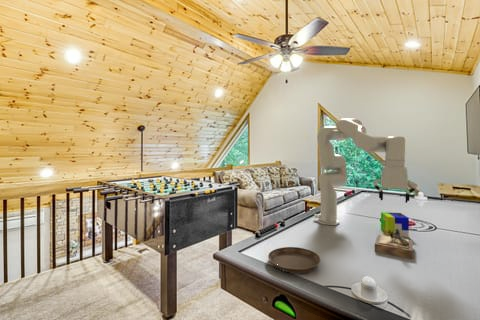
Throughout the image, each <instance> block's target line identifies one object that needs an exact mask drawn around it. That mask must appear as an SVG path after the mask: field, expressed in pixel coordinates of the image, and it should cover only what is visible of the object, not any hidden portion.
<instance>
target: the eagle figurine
mask: <svg viewBox="0 0 480 320" xmlns="http://www.w3.org/2000/svg"><path fill="white" fill-rule="evenodd" d="M395 231H396V233H393V231H392V232H391V231H390V230H389V231H388V232H387V231H386V230H385V232H386V233H388V234H389V235H390V236H389V237H391V239H393V242H395V240H396V239H399V240H400V242H401V244H402V245H403V246H407V247H408V245H409V243H408V242H407V240H405V239H406V238H404V236H400V232H399V230H398V229H395ZM393 235H394V236H393Z"/></svg>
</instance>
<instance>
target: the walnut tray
mask: <svg viewBox="0 0 480 320" xmlns="http://www.w3.org/2000/svg"><path fill="white" fill-rule="evenodd" d="M404 239H405V240H407V242H408V243H409V245H408V247H407V246H403V245H402V244H401V242H400V240H399V239H396V240H395V242H393V239H391V237H390V236H388V235H382V234H377V236H376V239H375V242H374V252H375V253H381V254H385V255H389V256H390V255H391V256H395V257H401V258H404V259H405V258H406V259H410V260H411V259H412V260H413V259H414V258H413V254H414V250H413V249H414V247H413V239H407V238H404Z"/></svg>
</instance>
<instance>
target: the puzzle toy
mask: <svg viewBox="0 0 480 320" xmlns="http://www.w3.org/2000/svg"><path fill="white" fill-rule="evenodd" d="M409 224H410V218H409V217H408V216H406V215H405V214H403V213H401V212H386V211H385V212H384V211H383V212H380V230H381V231H382V232H383V233H384V234H385V236H389V237H390V235H389V234H388V233H386V232H385V230H386V231H387V232H388V231H389V230H390V231H391V232H392V231H393V233H396V231H395V229H398V230H399V232H400V236H401V237H408V238H409V234H410V233H409V230H410V229H409V228H410V227H409V226H410V225H409ZM393 236H394V235H393Z"/></svg>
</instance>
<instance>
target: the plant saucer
mask: <svg viewBox="0 0 480 320" xmlns="http://www.w3.org/2000/svg"><path fill="white" fill-rule="evenodd" d="M267 258H268V260H269V262H270V263H271V265H273V267H275V268H276V267H277V268H279V269H281V270H284V271H287V272H290V273H289V274H295V275H297V274H298V275H299V274H306V273H309V272H311V271H313V270H315V269H316V268H317V267H318V266H319V264H320V263H321V257H320V255H318V254H317V253H316V252H314V251H313V250H309V249H306V248H302V247H295V246H286V247H285V246H284V247H278V248H274V249H272V251H270V252H269V253H268V254H267ZM277 264H278V265H277ZM277 268H276V269H277ZM279 269H278V270H279ZM281 270H280V271H281ZM284 271H283V272H284ZM287 272H286V273H287Z"/></svg>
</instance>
